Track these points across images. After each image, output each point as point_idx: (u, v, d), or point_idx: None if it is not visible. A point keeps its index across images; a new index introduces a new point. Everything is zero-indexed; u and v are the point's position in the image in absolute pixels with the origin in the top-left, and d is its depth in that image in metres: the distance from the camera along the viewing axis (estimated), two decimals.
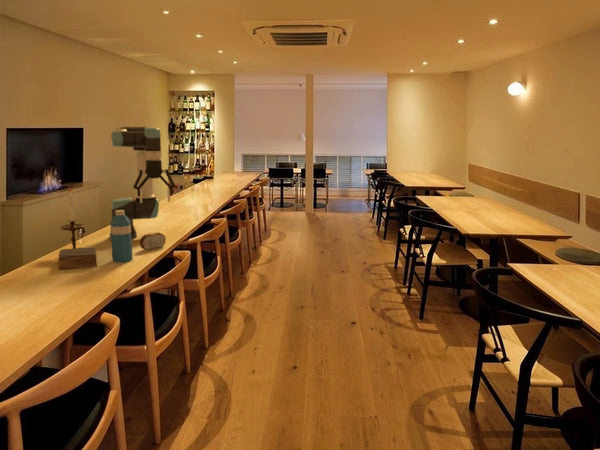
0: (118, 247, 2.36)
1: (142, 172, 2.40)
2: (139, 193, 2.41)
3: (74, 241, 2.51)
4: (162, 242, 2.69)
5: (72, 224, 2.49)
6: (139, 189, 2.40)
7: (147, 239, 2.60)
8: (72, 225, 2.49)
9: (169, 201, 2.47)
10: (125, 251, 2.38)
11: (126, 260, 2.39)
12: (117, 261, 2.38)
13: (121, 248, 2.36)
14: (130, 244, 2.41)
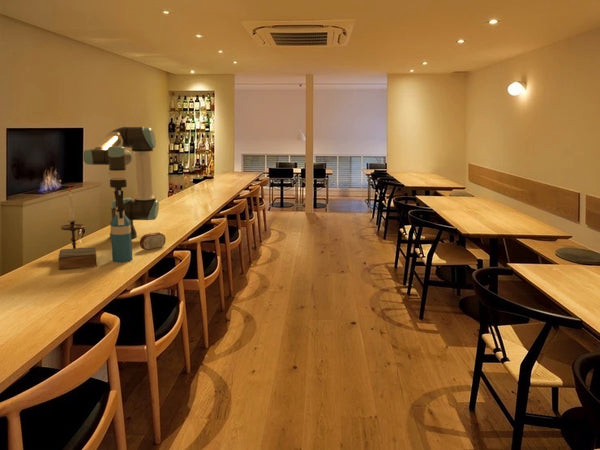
0: (118, 247, 2.36)
1: (116, 190, 2.40)
2: None
3: (74, 241, 2.51)
4: (162, 242, 2.69)
5: (72, 224, 2.49)
6: (116, 206, 2.43)
7: (147, 239, 2.60)
8: (72, 225, 2.49)
9: (118, 224, 2.31)
10: (125, 251, 2.38)
11: (126, 260, 2.39)
12: (117, 261, 2.38)
13: (121, 248, 2.36)
14: (130, 244, 2.41)
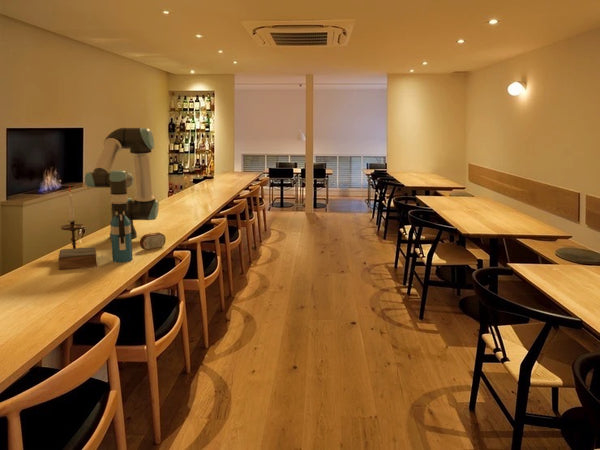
0: (118, 247, 2.36)
1: None
2: None
3: (74, 241, 2.51)
4: (162, 242, 2.69)
5: (72, 224, 2.49)
6: None
7: (147, 239, 2.60)
8: (72, 225, 2.49)
9: None
10: (125, 251, 2.38)
11: (126, 260, 2.39)
12: (117, 261, 2.38)
13: None
14: (130, 244, 2.41)
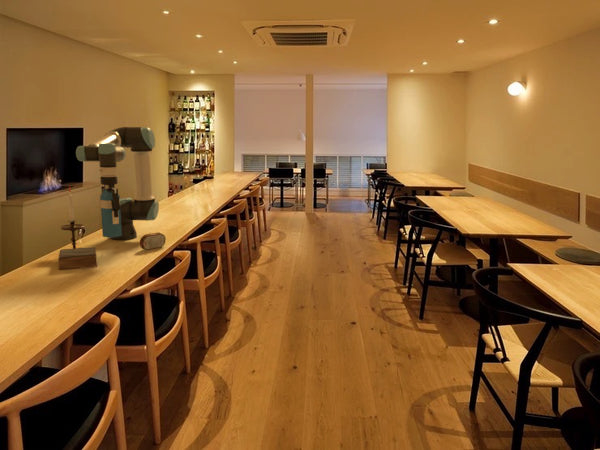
0: (111, 221, 2.32)
1: (103, 188, 2.37)
2: None
3: (74, 241, 2.51)
4: (162, 242, 2.68)
5: (72, 224, 2.49)
6: None
7: (147, 239, 2.60)
8: (72, 225, 2.49)
9: (113, 223, 2.32)
10: (118, 225, 2.35)
11: (118, 234, 2.36)
12: (110, 235, 2.33)
13: None
14: None
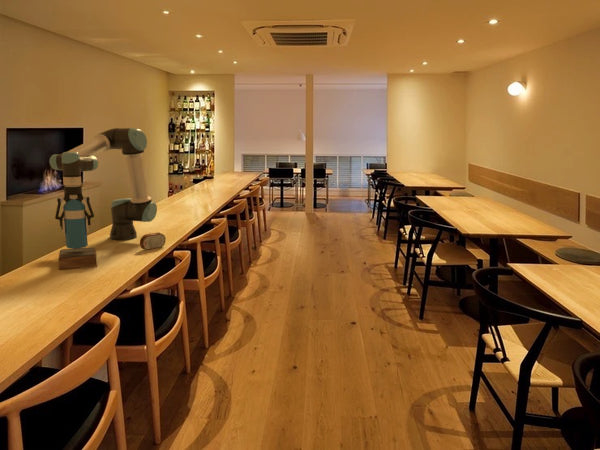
0: (85, 230, 2.31)
1: (60, 200, 2.25)
2: (62, 224, 2.27)
3: None
4: (162, 242, 2.69)
5: None
6: (62, 219, 2.26)
7: (147, 239, 2.60)
8: None
9: (87, 232, 2.32)
10: None
11: None
12: (85, 245, 2.31)
13: (86, 231, 2.32)
14: None
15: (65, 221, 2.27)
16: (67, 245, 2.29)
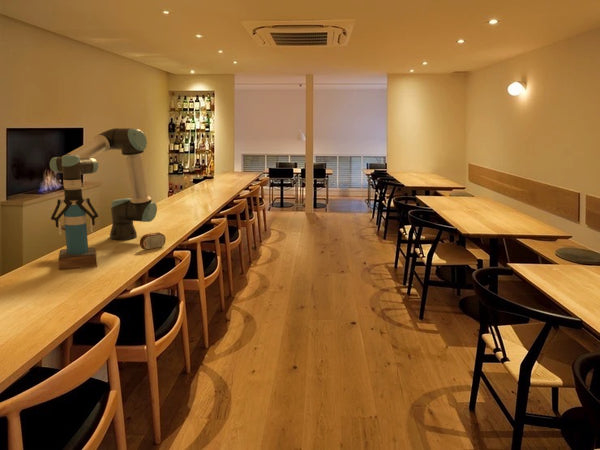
0: (85, 236, 2.31)
1: (60, 202, 2.25)
2: (57, 224, 2.26)
3: None
4: (162, 242, 2.69)
5: None
6: (57, 220, 2.26)
7: (147, 239, 2.60)
8: None
9: (91, 232, 2.32)
10: None
11: None
12: (85, 251, 2.32)
13: (86, 237, 2.33)
14: None
15: (66, 227, 2.28)
16: (68, 251, 2.30)
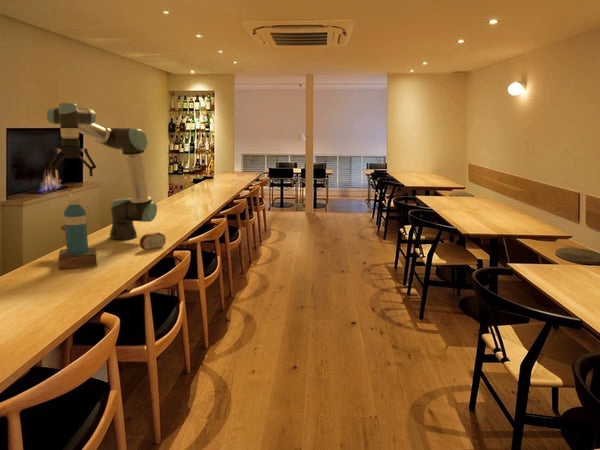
0: (85, 236, 2.31)
1: (57, 151, 2.21)
2: (54, 174, 2.22)
3: None
4: (162, 242, 2.69)
5: None
6: (54, 170, 2.21)
7: (147, 239, 2.60)
8: None
9: (89, 183, 2.28)
10: None
11: None
12: (85, 251, 2.32)
13: (86, 237, 2.33)
14: None
15: (66, 227, 2.28)
16: (68, 251, 2.30)
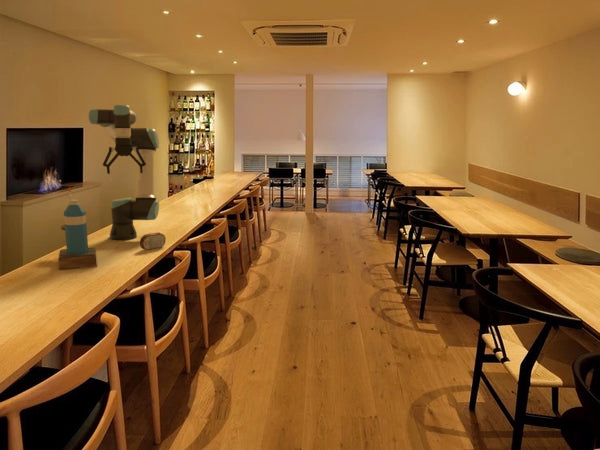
0: (85, 236, 2.31)
1: (111, 149, 2.39)
2: (109, 171, 2.40)
3: None
4: (162, 242, 2.69)
5: None
6: (109, 167, 2.39)
7: (147, 239, 2.60)
8: None
9: (139, 179, 2.46)
10: None
11: None
12: (85, 251, 2.32)
13: (86, 237, 2.33)
14: None
15: (66, 227, 2.28)
16: (68, 251, 2.30)
